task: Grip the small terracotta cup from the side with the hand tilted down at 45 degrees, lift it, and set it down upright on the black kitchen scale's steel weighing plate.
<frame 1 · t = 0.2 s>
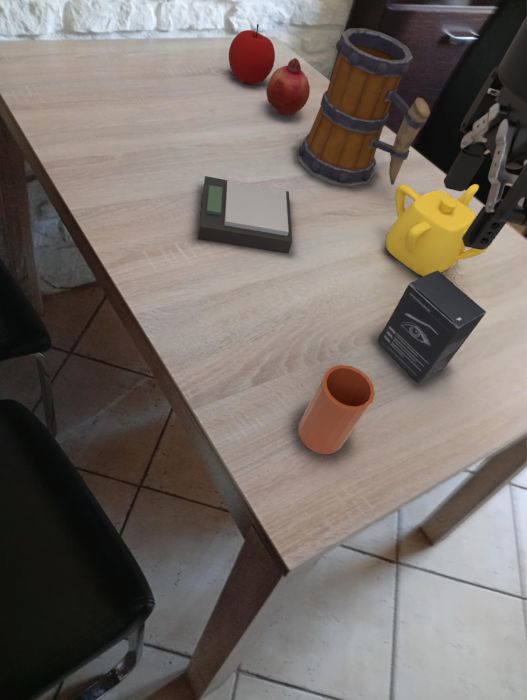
hand: (462, 215, 48), 23 cm above the table, tool pointing down, fingers open, 8 cm apart
apple: (247, 80, 107), on the table
cup: (321, 432, 57), on the table
teapot: (419, 254, 82), on the table
scale: (244, 219, 78), on the table
fruit: (282, 113, 101), on the table
mug: (345, 171, 93), on the table
box: (408, 355, 68), on the table
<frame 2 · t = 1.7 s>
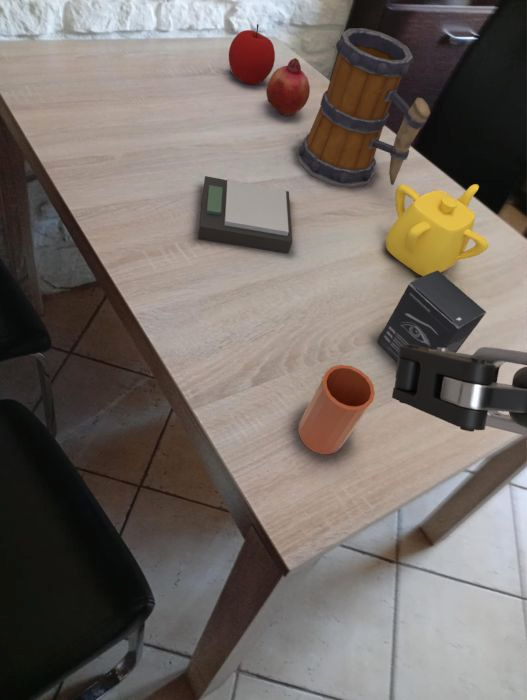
hand: (474, 371, 30), 27 cm above the table, tool tilted 45°, fingers open, 8 cm apart
nothing on the table moved.
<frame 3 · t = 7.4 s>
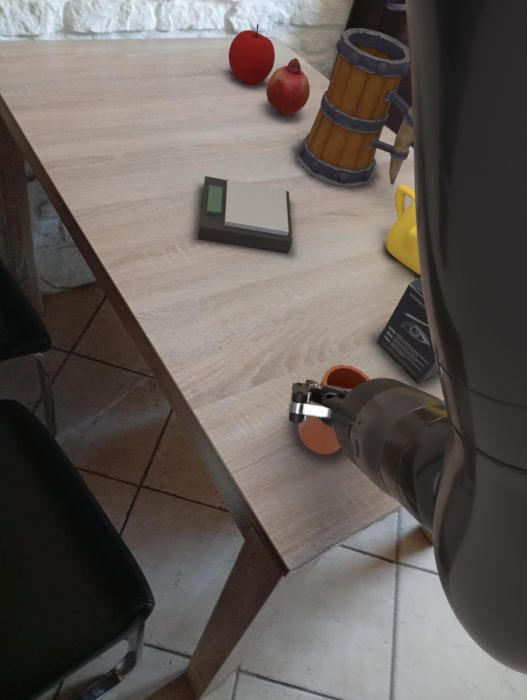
hand: (334, 392, 54), 5 cm above the table, tool tilted 45°, fingers closed on cup, 5 cm apart
cup: (321, 432, 57), on the table, touching gripper
everything else where it was.
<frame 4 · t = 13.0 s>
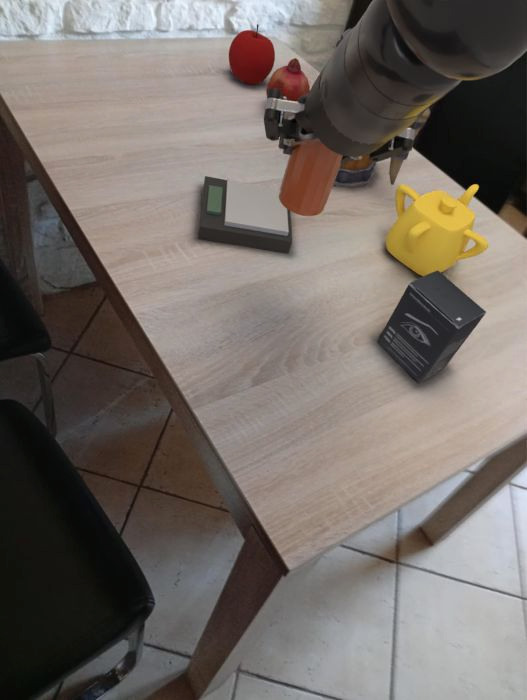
hand: (313, 149, 55), 20 cm above the table, tool tilted 45°, fingers closed on cup, 5 cm apart
cup: (301, 201, 58), point 15 cm above the table, touching gripper
everything else where it was.
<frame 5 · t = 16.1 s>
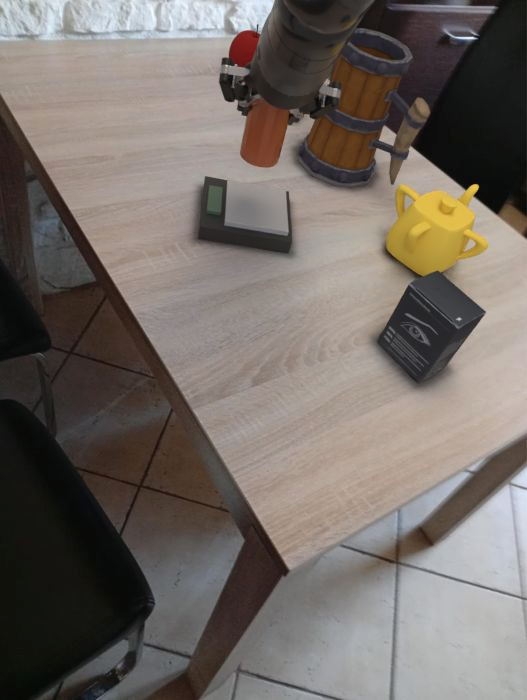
hand: (267, 112, 67), 16 cm above the table, tool tilted 45°, fingers closed on cup, 5 cm apart
cup: (259, 156, 70), point 10 cm above the table, touching gripper
everything else where it was.
when the fingers open (8 cm above the table, at t = 18.6 s): cup stays where it is, resting on scale.
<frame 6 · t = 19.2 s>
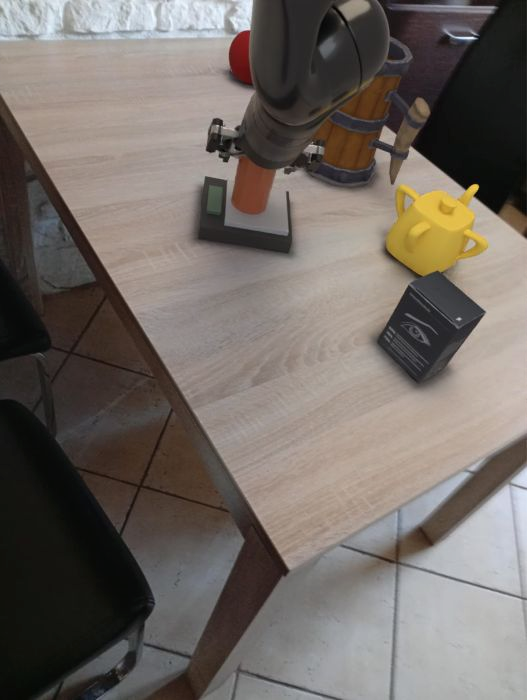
hand: (256, 160, 72), 9 cm above the table, tool tilted 45°, fingers open, 8 cm apart
cup: (248, 203, 75), point 3 cm above the table, touching scale
everything else where it was.
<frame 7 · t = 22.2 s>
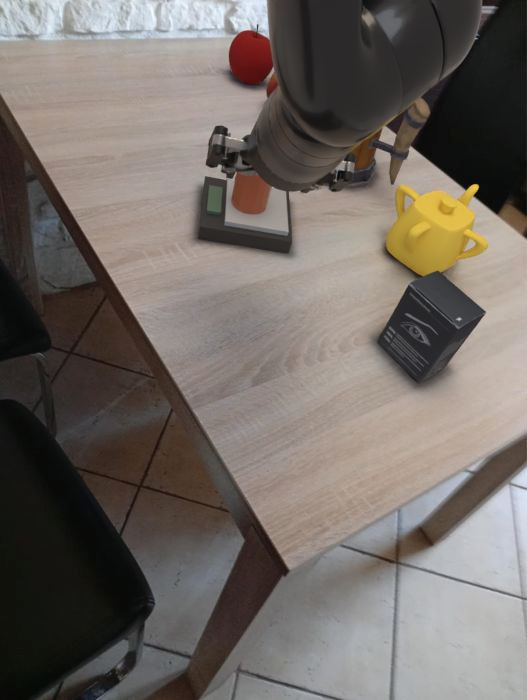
hand: (267, 176, 59), 15 cm above the table, tool tilted 45°, fingers open, 8 cm apart
nothing on the table moved.
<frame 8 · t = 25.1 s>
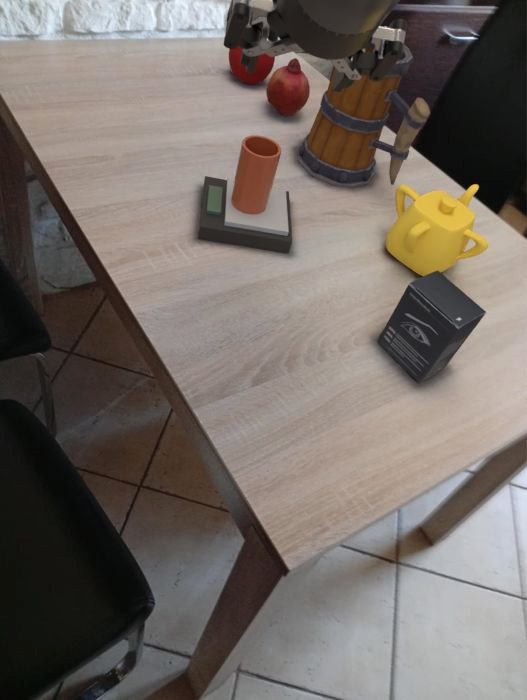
hand: (294, 71, 50), 27 cm above the table, tool tilted 45°, fingers open, 8 cm apart
nothing on the table moved.
at the end: cup inside the target area on the scale (0.5 cm from its centre), point 3.0 cm above the scale's base; cup tilted 0°; the gripper is holding nothing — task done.
